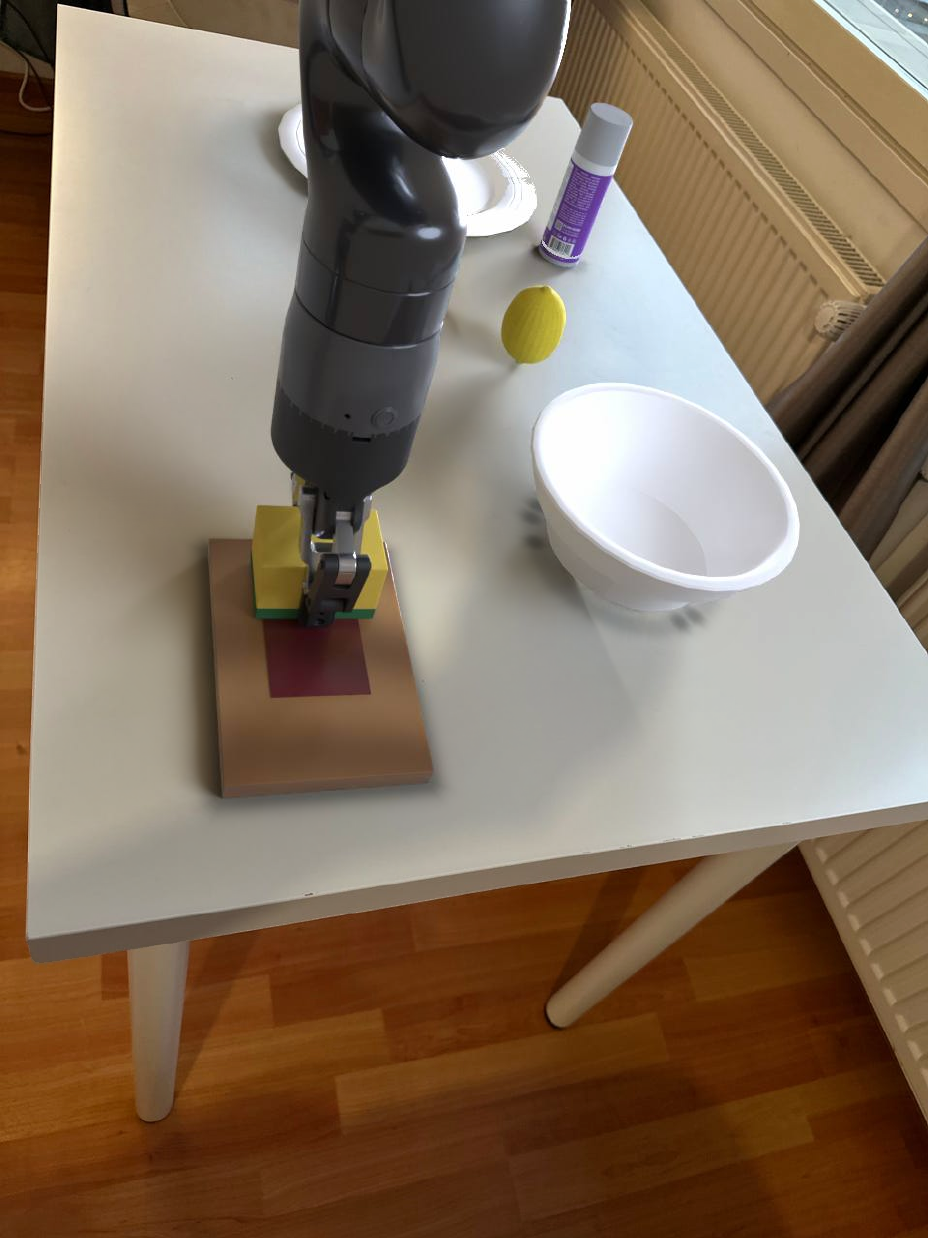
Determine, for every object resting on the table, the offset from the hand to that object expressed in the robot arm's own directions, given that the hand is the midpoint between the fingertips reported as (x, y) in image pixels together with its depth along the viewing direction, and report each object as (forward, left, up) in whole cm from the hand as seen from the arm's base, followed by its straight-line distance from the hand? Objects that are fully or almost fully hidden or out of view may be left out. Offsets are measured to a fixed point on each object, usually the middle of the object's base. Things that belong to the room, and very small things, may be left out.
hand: (310, 587), depth 57 cm
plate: (+18, +60, -2) cm, 63 cm away
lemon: (+23, +28, -2) cm, 36 cm away
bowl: (+26, +5, -2) cm, 26 cm away
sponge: (0, 0, 0) cm, 0 cm away
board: (0, -5, -2) cm, 5 cm away
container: (+33, +48, -2) cm, 58 cm away
